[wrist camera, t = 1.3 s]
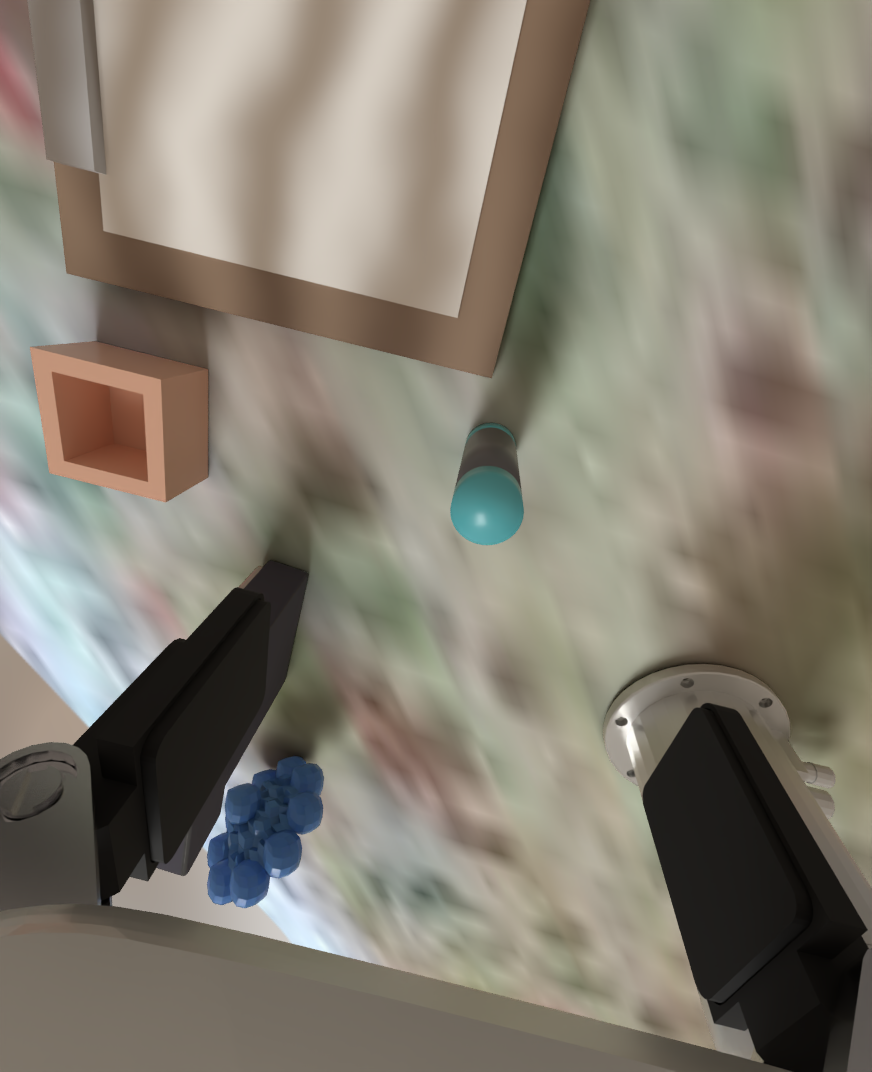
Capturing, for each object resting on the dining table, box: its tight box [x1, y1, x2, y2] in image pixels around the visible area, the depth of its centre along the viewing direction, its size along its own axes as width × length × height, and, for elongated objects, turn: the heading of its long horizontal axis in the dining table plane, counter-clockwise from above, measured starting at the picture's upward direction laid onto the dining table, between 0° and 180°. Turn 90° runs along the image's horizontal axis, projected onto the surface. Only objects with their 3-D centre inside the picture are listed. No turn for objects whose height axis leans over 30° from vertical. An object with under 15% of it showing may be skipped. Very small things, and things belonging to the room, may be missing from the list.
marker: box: [451, 423, 524, 545], centre depth 24 cm, size 3×3×10 cm
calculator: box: [156, 560, 309, 876], centre depth 30 cm, size 11×4×15 cm, turn 163°
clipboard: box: [27, 0, 590, 378], centre depth 22 cm, size 24×18×2 cm
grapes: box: [207, 756, 324, 908], centre depth 37 cm, size 12×7×12 cm, turn 126°
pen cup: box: [30, 341, 208, 502], centre depth 28 cm, size 7×7×4 cm
